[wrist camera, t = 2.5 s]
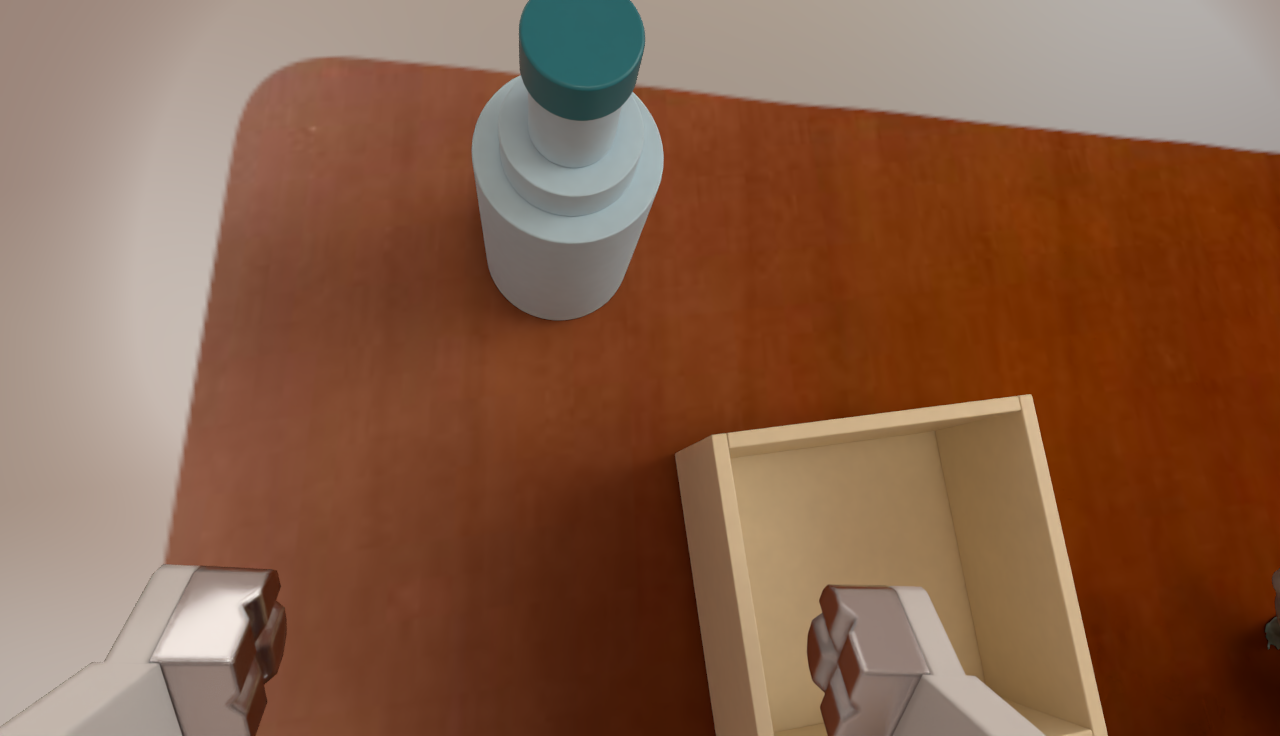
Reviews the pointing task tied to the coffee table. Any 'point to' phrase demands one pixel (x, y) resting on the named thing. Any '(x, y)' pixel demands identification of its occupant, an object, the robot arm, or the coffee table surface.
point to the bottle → (567, 159)
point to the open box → (885, 556)
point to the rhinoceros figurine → (1276, 629)
